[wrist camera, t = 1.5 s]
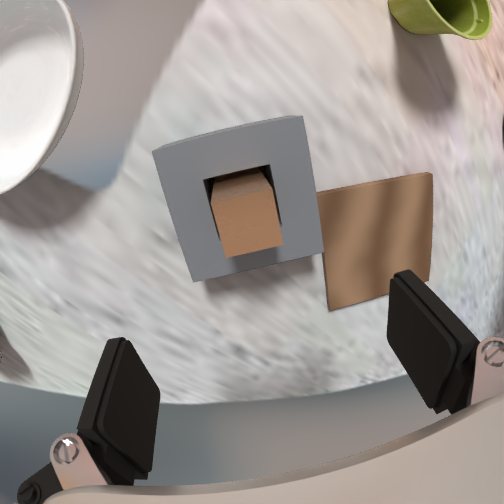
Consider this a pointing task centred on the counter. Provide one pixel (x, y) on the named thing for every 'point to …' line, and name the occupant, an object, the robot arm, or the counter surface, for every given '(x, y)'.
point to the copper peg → (245, 212)
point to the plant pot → (444, 17)
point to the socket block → (231, 160)
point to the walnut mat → (375, 236)
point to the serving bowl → (35, 83)
